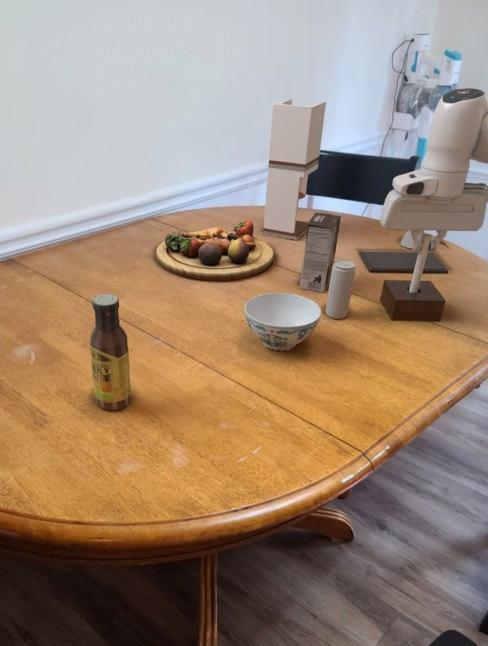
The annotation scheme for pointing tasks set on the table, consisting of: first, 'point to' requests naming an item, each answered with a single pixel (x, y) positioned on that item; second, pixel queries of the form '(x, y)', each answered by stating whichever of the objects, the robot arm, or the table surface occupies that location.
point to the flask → (410, 239)
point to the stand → (412, 301)
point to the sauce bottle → (109, 355)
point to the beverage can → (340, 289)
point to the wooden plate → (215, 253)
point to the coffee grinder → (291, 165)
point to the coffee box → (319, 251)
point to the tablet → (400, 262)
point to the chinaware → (281, 319)
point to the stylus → (420, 263)
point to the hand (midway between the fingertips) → (423, 249)
